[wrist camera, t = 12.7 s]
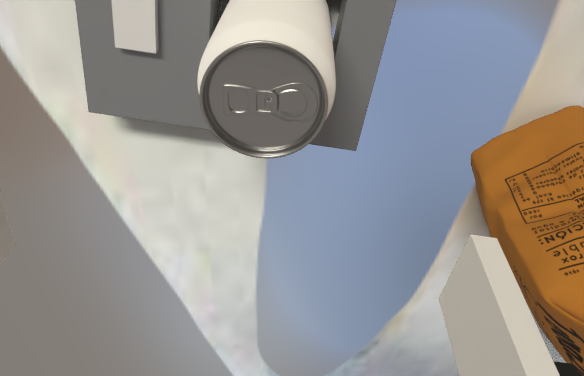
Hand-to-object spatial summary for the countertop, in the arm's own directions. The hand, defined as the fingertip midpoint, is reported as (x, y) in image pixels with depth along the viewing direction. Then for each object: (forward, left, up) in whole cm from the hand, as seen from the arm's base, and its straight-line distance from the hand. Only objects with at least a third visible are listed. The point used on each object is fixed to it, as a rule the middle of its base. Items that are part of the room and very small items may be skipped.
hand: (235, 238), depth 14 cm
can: (0, 0, -21) cm, 21 cm away
